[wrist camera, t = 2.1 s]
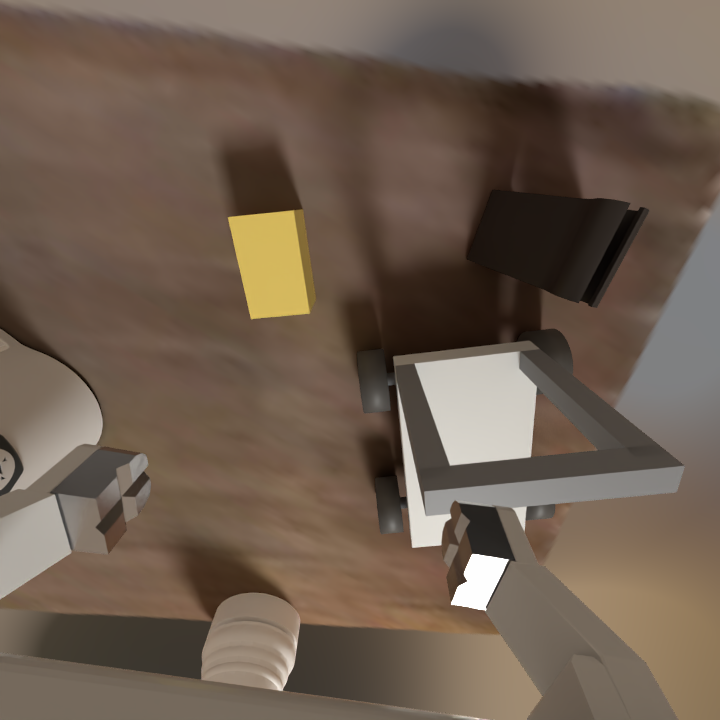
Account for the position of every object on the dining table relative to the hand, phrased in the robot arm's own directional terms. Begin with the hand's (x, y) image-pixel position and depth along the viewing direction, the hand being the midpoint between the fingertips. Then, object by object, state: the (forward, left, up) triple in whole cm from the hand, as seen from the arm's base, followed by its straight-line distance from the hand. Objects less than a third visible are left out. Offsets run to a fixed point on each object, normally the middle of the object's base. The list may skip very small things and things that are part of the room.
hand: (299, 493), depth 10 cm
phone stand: (+17, +2, -27) cm, 32 cm away
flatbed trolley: (+10, -17, -27) cm, 33 cm away
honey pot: (-20, -49, -27) cm, 59 cm away
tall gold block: (-5, +3, -27) cm, 27 cm away
